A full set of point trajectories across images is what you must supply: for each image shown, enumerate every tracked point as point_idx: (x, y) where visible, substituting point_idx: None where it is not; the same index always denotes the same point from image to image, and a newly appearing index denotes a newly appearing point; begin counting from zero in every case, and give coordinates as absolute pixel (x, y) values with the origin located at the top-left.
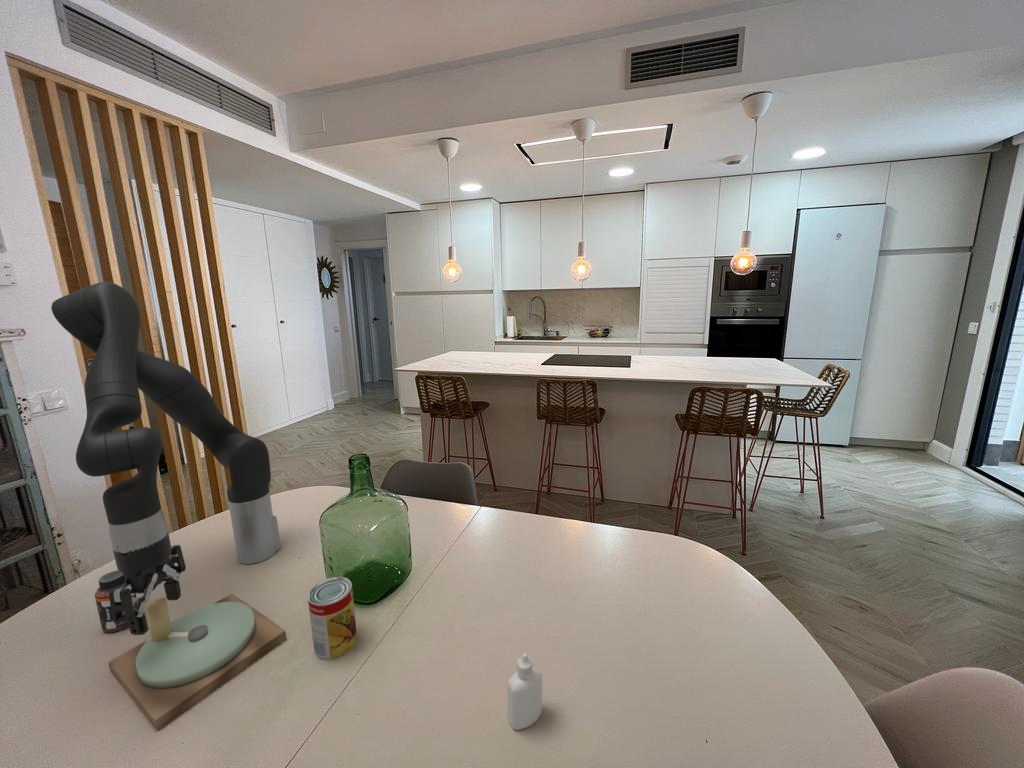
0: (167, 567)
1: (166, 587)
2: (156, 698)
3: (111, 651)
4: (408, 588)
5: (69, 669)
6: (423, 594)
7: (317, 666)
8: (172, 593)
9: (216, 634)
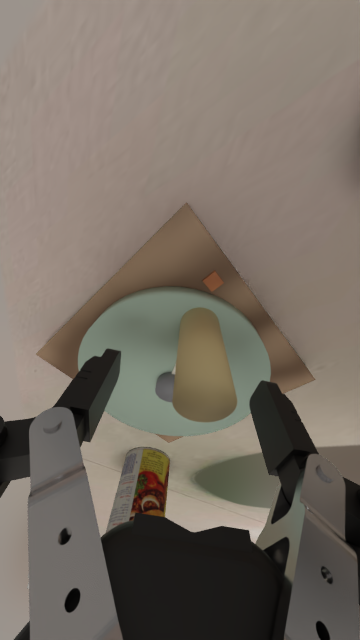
0: None
1: (279, 434)
2: (71, 342)
3: (267, 161)
4: (207, 496)
5: (241, 45)
6: (192, 501)
7: (120, 448)
8: (261, 415)
9: (166, 404)
